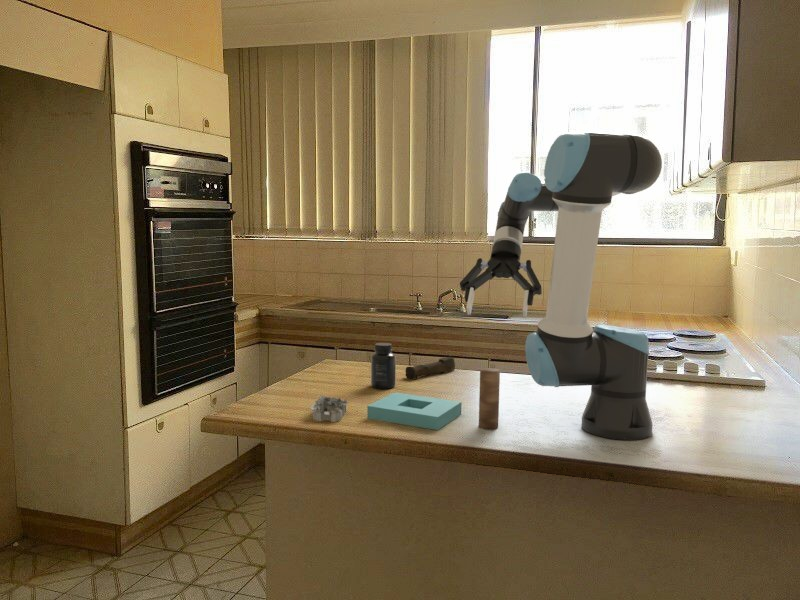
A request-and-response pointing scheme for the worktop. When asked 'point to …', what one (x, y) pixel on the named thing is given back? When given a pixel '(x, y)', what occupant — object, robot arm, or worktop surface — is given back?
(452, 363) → the dark brown wooden rod
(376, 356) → the supplement bottle
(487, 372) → the walnut pin
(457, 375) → the worktop surface
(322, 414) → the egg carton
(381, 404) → the teal square-hole block
